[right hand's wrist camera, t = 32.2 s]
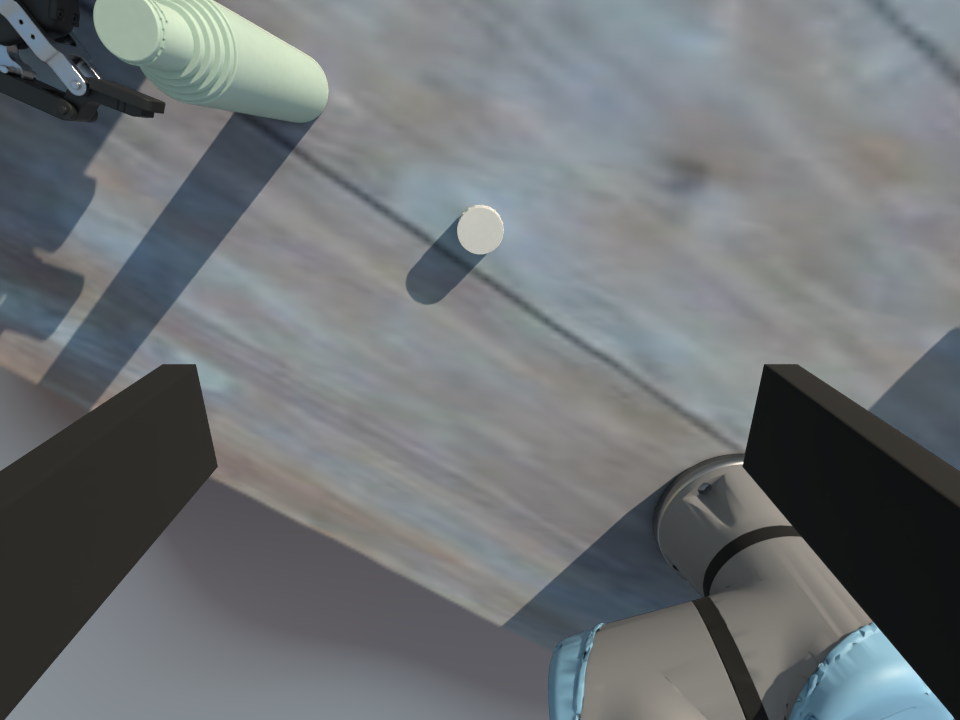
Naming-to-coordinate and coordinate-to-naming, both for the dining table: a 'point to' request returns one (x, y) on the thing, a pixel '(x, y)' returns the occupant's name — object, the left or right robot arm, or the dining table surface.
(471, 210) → the cap
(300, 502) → the dining table surface
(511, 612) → the dining table surface
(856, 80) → the dining table surface
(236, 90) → the bottle
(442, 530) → the dining table surface
